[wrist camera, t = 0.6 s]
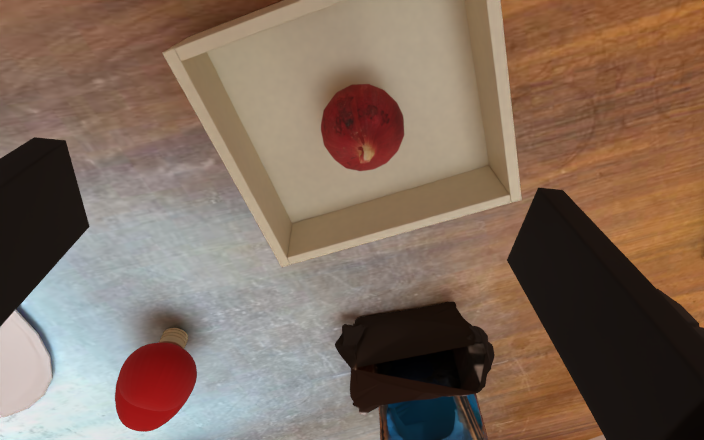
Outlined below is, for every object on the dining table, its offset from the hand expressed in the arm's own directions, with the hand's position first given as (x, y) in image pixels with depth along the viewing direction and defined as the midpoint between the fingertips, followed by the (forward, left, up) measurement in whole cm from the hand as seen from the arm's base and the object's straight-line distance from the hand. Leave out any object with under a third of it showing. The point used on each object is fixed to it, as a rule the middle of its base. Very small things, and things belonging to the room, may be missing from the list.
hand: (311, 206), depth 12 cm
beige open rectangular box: (+3, +4, -21) cm, 22 cm away
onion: (+3, +4, -21) cm, 21 cm away
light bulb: (+33, -6, -21) cm, 40 cm away
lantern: (+31, +22, -21) cm, 44 cm away
